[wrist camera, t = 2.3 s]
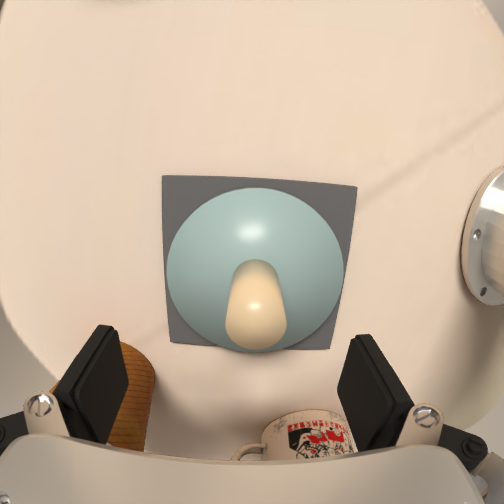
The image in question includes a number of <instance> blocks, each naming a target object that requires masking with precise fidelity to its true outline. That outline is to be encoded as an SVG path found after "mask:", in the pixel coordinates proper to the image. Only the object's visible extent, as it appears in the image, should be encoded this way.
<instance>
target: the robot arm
mask: <svg viewBox="0 0 504 504" xmlns="http://www.w3.org/2000/svg"><path fill="white" fill-rule="evenodd" d="M462 269H463V276H464V279H465V282H466V285H467V287H468V289H469V290H470V292H471V293H472V294H473V295H474V296H475V297H476V298H477V299H478V300H479V301H481V302H482V303H484V304H486V305H490V306H496V305H501V304H504V166H503V167H500V168H498V169H497V170H496V171H494V172H493V173H492V174H491V175H490V176H489V177H488V178H487V179H486V180H485V181H484V183H483V184H482V186H481V187H480V189H479V190H478V192H477V194H476V196H475V199H474V201H473V203H472V205H471V208H470V211H469V214H468V217H467V220H466V225H465V229H464V233H463V242H462ZM128 385H129V379H128V375H127V371H126V367H125V363H124V358H123V354H122V350H121V345H120V340H119V335H118V332H117V330H114V328H113V327H112V326H107V325H98V326H97V328H96V329H95V331H94V332H93V333H92V335H91V336H90V338H89V339H88V341H87V342H86V344H85V345H84V346H83V348H82V349H81V351H80V352H79V354H78V355H77V356H76V357H75V359H74V360H73V362H72V363H71V365H70V366H69V368H68V369H67V371H66V372H65V374H64V376H63V377H62V379H61V380H60V382H59V383H58V385H57V386H56V388H55V390H54V391H53V393H52V394H51V393H49V392H44V391H41V392H36V393H33V394H31V395H30V396H29V397H28V398H27V399H26V400H25V402H24V405H23V410H24V411H22V412H19V413H16V414H12V415H9V416H6V417H3V418H0V504H504V459H503V458H501V457H500V456H498V455H497V454H495V453H494V452H491V454H489V453H488V451H487V450H488V448H487V445H486V443H485V441H484V440H483V439H482V438H480V437H478V436H476V435H473V434H470V433H467V432H465V431H462V430H459V429H456V428H454V427H451V426H448V425H446V424H443V415H442V413H441V412H440V410H439V409H437V408H436V407H435V406H433V405H430V404H426V403H422V404H417V405H414V403H413V401H412V400H411V398H410V396H409V395H408V393H407V391H406V390H405V388H404V386H403V385H402V383H401V381H400V380H399V378H398V376H397V375H396V373H395V372H394V370H393V368H392V367H391V365H390V364H389V363H388V361H387V359H386V358H385V356H384V355H383V353H382V351H381V350H380V348H379V347H378V345H377V344H376V342H375V340H374V339H373V337H372V336H371V335H370V334H362V335H356V336H355V338H353V339H351V342H350V345H349V349H348V353H347V356H346V360H345V363H344V367H343V370H342V373H341V377H340V380H339V383H338V387H337V392H338V396H339V399H340V401H341V404H342V407H343V410H344V412H345V415H346V418H347V421H348V424H349V426H350V429H351V432H352V435H353V438H354V441H355V444H356V446H357V449H358V452H356V453H349V454H342V455H334V456H327V457H318V458H307V459H294V460H275V461H226V460H207V459H194V458H183V457H174V456H166V455H159V454H152V453H146V452H140V451H134V450H129V449H124V448H119V447H114V446H109V445H106V443H107V441H108V438H109V435H110V433H111V430H112V427H113V425H114V422H115V419H116V417H117V414H118V411H119V409H120V406H121V404H122V401H123V399H124V396H125V394H126V391H127V389H128Z"/></svg>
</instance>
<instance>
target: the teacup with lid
mask: <svg viewBox="0 0 504 504" xmlns="http://www.w3.org/2000/svg"><path fill="white" fill-rule="evenodd" d="M250 453H257V454H261V461H275V460H294V459H307V458H318V457H327V456H334V455H342V454H349V453H354V452H353V448H352V444H351V441H350V437H349V434H348V431H347V427H346V424H345V422H344V420H343V419H342V418H341V417H340V416H338V415H337V414H334V413H332V412H329V411H324V410H305V411H299V412H294V413H291V414H288V415H285V416H282V417H280V418H278V419H276V420H275V421H273V422H272V423H271V424H269V425H268V426H267V427H266V428H265V430H264V431H263V433H262V436H261V444H256V443H255V444H247V445H244V446H242V447H241V448H239V449H238V450H237V451H236V452H235V453H234V455H233V456H232V458H231V460H230V461H240V458H241V457H242V456H244V455H246V454H250Z"/></svg>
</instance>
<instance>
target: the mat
mask: <svg viewBox="0 0 504 504" xmlns="http://www.w3.org/2000/svg"><path fill="white" fill-rule="evenodd" d="M246 187H264V188H272V189H276V190H280V191H283V192H286V193H288V194H291V195H293V196H295V197H297V198H299V199H300V200H302V201H304V202H305V203H307V204H308V205H309V206H310V207H312V208H313V209H314V210H315V211H316V212H317V213H318V214H319V215H320V216H321V217H322V218H323V219H324V220H325V221H326V222H327V224H328V225H329V227H330V228H331V230H332V231H333V233H334V235H335V237H336V239H337V241H338V243H339V246H340V249H341V253H342V258H343V269H344V275H343V283H344V277H345V272H346V266H347V260H348V254H349V248H350V241H351V234H352V227H353V220H354V212H355V204H356V196H357V187H355V186H347V185H338V184H328V183H318V182H306V181H294V180H281V179H266V178H248V177H225V176H180V175H164V176H162V231H163V256H164V275H165V289H166V302H167V314H168V325H169V334H170V342H178V343H188V344H199V345H212V346H219V345H217V344H215V343H212V342H210V341H209V340H207V339H205V338H204V337H202V336H201V335H200V334H198V333H197V332H196V331H194V330H193V329H192V328H191V327H190V326H189V325H188V324H187V323H186V321H185V320H184V319H183V318H182V316H181V315H180V314H179V312H178V310H177V309H176V307H175V305H174V303H173V300H172V298H171V295H170V292H169V288H168V282H167V260H168V254H169V251H170V247H171V244H172V242H173V240H174V238H175V236H176V233H177V232H178V230H179V229H180V227H181V226H182V224H183V223H184V222H185V221H186V220H187V219H188V218H189V216H190V215H191V214H192V213H193V212H194V211H195V210H196V209H198V208H199V207H200V206H201V205H202V204H204V203H205V202H207V201H208V200H210V199H212V198H213V197H215V196H217V195H220V194H222V193H224V192H228V191H231V190H234V189H240V188H246ZM342 288H343V284H342ZM342 288H341V292H340V295H339V298H338V300H337V303H336V305H335V307H334V308H333V310H332V312H331V313H330V315H329V316H328V318H327V319H326V320H325V321H324V322H323V324H322V325H321V326H320V327H319V328H318V329H317V330H315V331H314V332H313V333H312V334H310V335H309V336H307V337H306V338H304V339H303V340H301V341H299V342H297V343H295V344H293V345H291V346H288V347H285V348H282V349H330V345H331V340H332V336H333V332H334V327H335V323H336V318H337V313H338V309H339V304H340V299H341V293H342Z"/></svg>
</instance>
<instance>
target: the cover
mask: <svg viewBox="0 0 504 504" xmlns="http://www.w3.org/2000/svg"><path fill="white" fill-rule="evenodd" d="M343 275H344V269H343V258H342V253H341V249H340V246H339V243H338V241H337V239H336V237H335V235H334V233H333V231H332V230H331V228H330V227H329V225H328V224H327V222H326V221H325V220H324V219H323V218H322V217H321V216H320V215H319V214H318V213H317V212H316V211H315V210H314V209H313V208H312V207H310V206H309V205H308V204H307V203H305V202H304V201H302V200H300V199H299V198H297V197H295V196H293V195H291V194H288V193H286V192H283V191H280V190H276V189H272V188H264V187H246V188H240V189H234V190H231V191H228V192H224V193H222V194H220V195H217V196H215V197H213V198H212V199H210V200H208V201H207V202H205V203H204V204H202V205H201V206H200V207H199V208H198V209H196V210H195V211H194V212H193V213H192V214H191V215H190V216H189V218H188V219H187V220H186V221H185V222H184V223H183V224H182V226H181V227H180V229H179V230H178V232H177V233H176V236H175V238H174V240H173V242H172V244H171V247H170V251H169V254H168V260H167V282H168V288H169V292H170V295H171V298H172V300H173V303H174V305H175V307H176V309H177V310H178V312H179V314H180V315H181V316H182V318H183V319H184V320H185V321H186V323H187V324H188V325H189V326H190V327H191V328H192V329H193V330H194V331H196V332H197V333H198V334H200V335H201V336H202V337H204V338H205V339H207V340H209V341H210V342H212V343H215V344H217V345H219V346H221V347H224V348H228V349H231V350H236V351H240V352H251V353H253V352H269V351H274V350H279V349H282V348H285V347H288V346H291V345H293V344H295V343H297V342H299V341H301V340H303V339H304V338H306V337H307V336H309V335H310V334H312V333H313V332H314V331H315V330H317V329H318V328H319V327H320V326H321V325H322V324H323V322H324V321H325V320H326V319H327V318H328V316H329V315H330V313H331V312H332V310H333V308H334V307H335V305H336V303H337V300H338V298H339V295H340V292H341V288H342V284H343Z"/></svg>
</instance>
